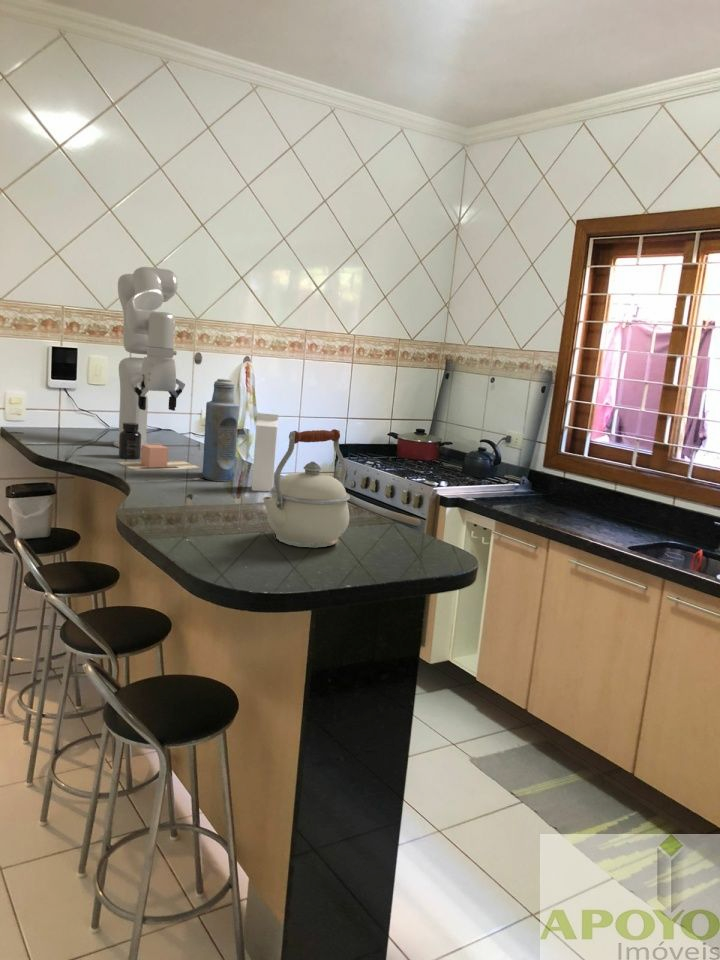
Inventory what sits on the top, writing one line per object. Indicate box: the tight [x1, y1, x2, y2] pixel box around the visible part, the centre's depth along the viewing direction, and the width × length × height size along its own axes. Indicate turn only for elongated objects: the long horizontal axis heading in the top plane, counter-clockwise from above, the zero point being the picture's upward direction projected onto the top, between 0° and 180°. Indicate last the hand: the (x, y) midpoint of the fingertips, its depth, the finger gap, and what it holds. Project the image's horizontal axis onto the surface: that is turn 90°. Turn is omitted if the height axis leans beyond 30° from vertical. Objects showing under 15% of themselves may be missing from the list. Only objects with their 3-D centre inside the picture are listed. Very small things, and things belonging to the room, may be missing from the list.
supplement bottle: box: [118, 423, 141, 461], centre depth 247 cm, size 7×7×12 cm
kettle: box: [262, 428, 351, 543], centre depth 168 cm, size 25×18×25 cm
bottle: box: [201, 378, 240, 482], centre depth 230 cm, size 10×10×30 cm
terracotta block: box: [140, 444, 169, 467], centre depth 238 cm, size 6×6×6 cm
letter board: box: [117, 459, 201, 472], centre depth 240 cm, size 14×22×1 cm, turn 130°
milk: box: [251, 412, 279, 492], centre depth 221 cm, size 6×6×22 cm
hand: (157, 409), depth 236 cm, fingers open, 9 cm apart
